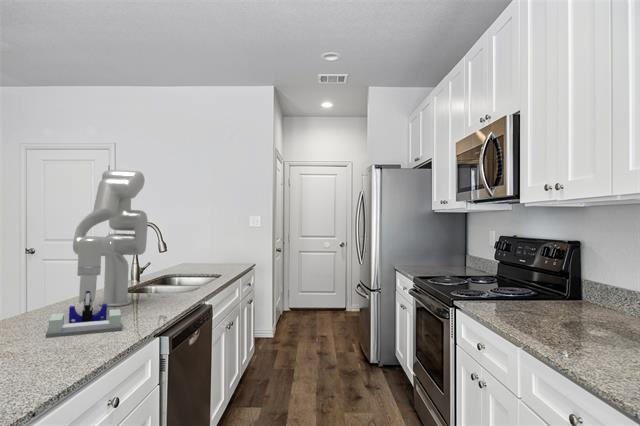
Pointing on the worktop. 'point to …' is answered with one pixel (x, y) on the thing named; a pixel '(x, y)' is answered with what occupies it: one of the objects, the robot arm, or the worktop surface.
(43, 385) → the worktop surface
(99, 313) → the cable clip
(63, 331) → the board
